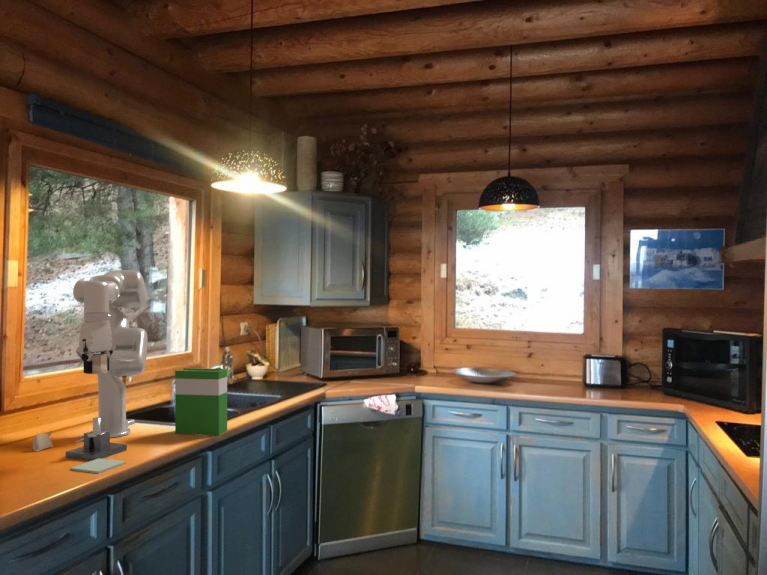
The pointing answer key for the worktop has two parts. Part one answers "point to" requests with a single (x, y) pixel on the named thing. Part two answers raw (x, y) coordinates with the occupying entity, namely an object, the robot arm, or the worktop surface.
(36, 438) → the decorative ornament
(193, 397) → the green banded box
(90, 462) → the mat
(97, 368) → the hollow octagonal tube
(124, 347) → the robot arm
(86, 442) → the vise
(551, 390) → the worktop surface
